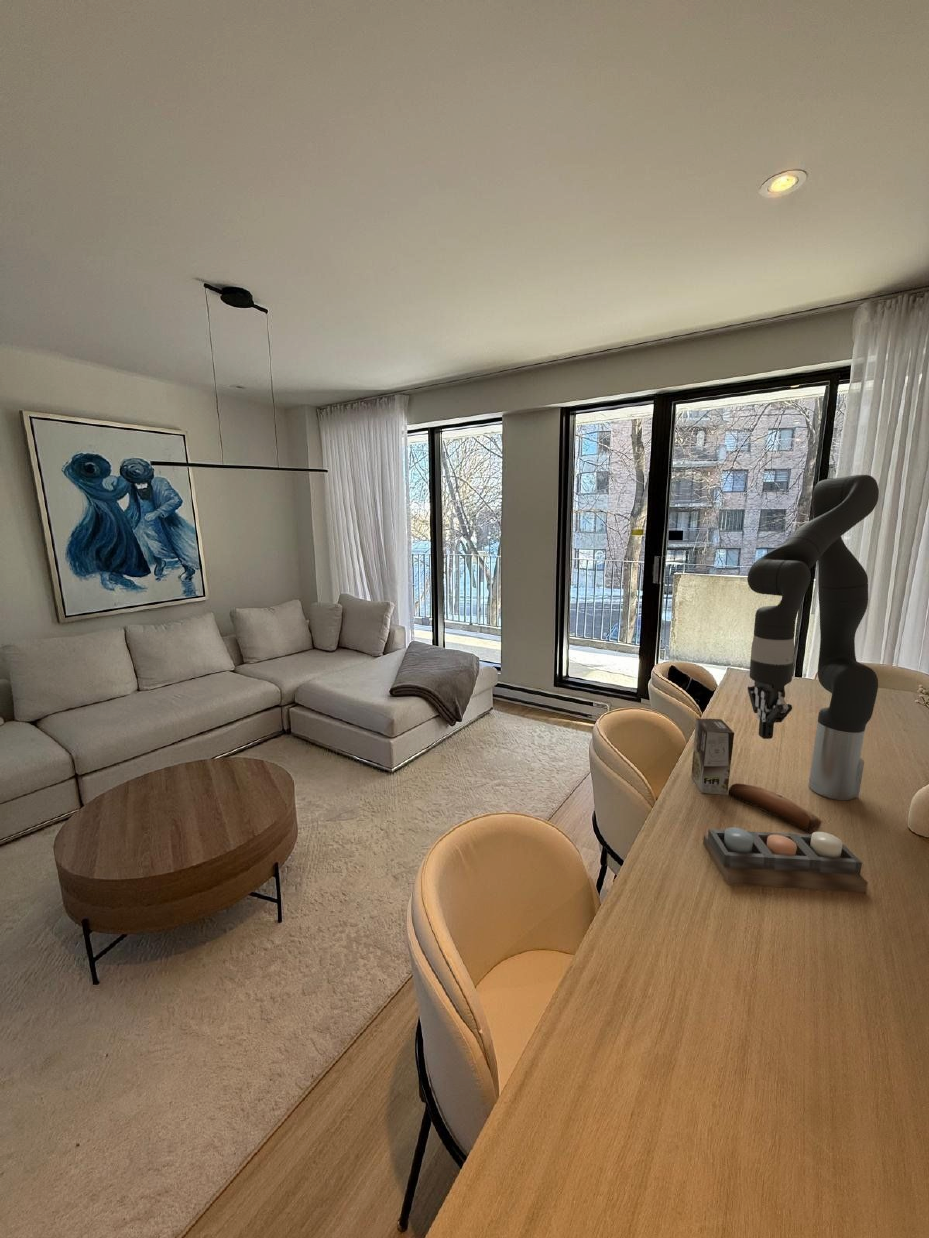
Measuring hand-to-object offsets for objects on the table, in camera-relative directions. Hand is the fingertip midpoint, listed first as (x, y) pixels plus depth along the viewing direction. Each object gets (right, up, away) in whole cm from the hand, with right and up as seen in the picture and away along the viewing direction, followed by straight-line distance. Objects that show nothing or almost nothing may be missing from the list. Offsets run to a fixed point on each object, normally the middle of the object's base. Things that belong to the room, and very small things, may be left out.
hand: (765, 737), depth 107 cm
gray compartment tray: (-3, -23, -9) cm, 25 cm away
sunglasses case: (+8, -20, +11) cm, 24 cm away
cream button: (+5, -20, -10) cm, 23 cm away
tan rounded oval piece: (-3, -21, -9) cm, 23 cm away
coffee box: (-2, -17, +21) cm, 27 cm away
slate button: (-11, -20, -9) cm, 24 cm away
